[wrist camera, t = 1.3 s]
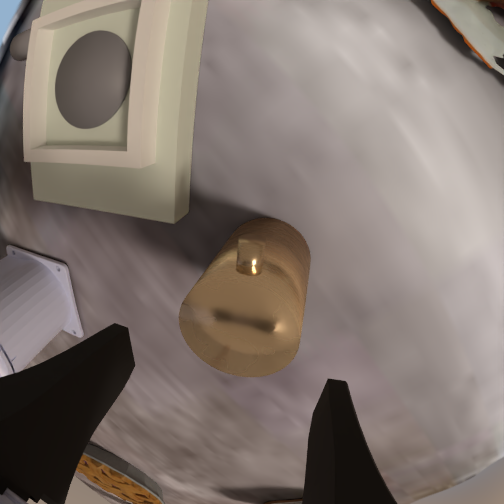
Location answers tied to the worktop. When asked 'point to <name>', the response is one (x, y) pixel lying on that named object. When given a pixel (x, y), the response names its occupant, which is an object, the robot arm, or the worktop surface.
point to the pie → (118, 477)
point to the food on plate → (476, 26)
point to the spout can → (250, 301)
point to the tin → (286, 501)
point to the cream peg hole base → (112, 103)
